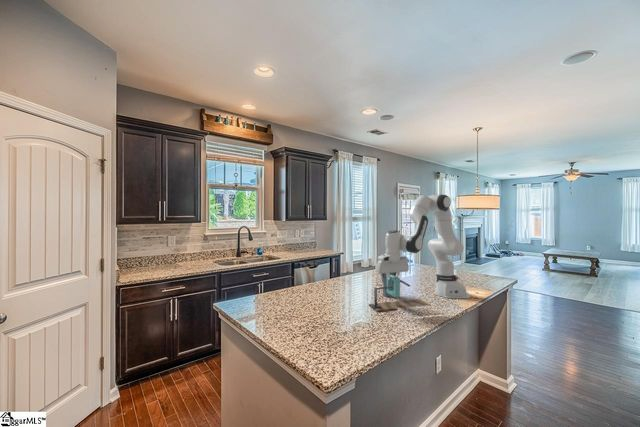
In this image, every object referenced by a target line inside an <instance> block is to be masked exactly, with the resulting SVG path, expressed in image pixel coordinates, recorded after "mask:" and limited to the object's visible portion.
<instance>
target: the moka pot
mask: <svg viewBox="0 0 640 427" xmlns="http://www.w3.org/2000/svg"><path fill="white" fill-rule="evenodd" d="M396 274H397V273H396V272H392V273H390V274H389V275H393V276H396ZM380 277H381V282H382V285H383V286H382V287H387V274H386V273H380ZM393 285H394V281H393V280H392V286H393ZM392 290H394V287H393V288H392ZM382 296H383V297H385V298H395V297H394V296H392V295H391V294H389V293H387V289H382Z"/></svg>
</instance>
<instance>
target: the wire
mask: <svg viewBox="0 0 640 427" xmlns="http://www.w3.org/2000/svg"><path fill="white" fill-rule="evenodd" d="M400 283H401V284H404V285H406V286H407V287H411V284H409V283H407V282H405V281H403V280H402V279H400ZM393 287H394V285H393V286H389V287H383V286H379V287H378V286H375V287H374V288H373V293H374V294H373V296H374V297H373V298H374V299H373V300H374V302H373V303H374V304H373V303H369V304H370V306H371V307H372V308H381V306H380V305H379V304H377V303H378V290H383V289H389V288H393ZM370 306H369V307H370ZM371 307H370V308H371ZM372 308H371V309H372Z"/></svg>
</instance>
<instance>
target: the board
mask: <svg viewBox="0 0 640 427" xmlns="http://www.w3.org/2000/svg"><path fill="white" fill-rule="evenodd" d="M370 304H371V303H368V306H369V307H370V308H371V309H372V310H374V311H375V312H376V313H379V312H390V311H391V312H392V311H399V309H403V308H417V307H425V306H426V307H427V306H431V304H430V303H428V302H426V301H424V300H422V299H420V298H419V299H418V298H417V299H407V300H397V301H395V300H394V301H386V302H377V304H379V305H380V306H381V308H372V307H371V306H370ZM372 304H374V302H373V303H372Z"/></svg>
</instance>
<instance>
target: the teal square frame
mask: <svg viewBox="0 0 640 427" xmlns="http://www.w3.org/2000/svg"><path fill="white" fill-rule="evenodd" d="M389 276H390V277H391V280H388V276H387V287H389V286H392V280H393V281H394V290H392V288H389V289H387V293H389V294H391V295H392V296H394V297H393V298H400V297H401V282H400V280H401V278H400V277H399V276H398V277H395V276H393V275H389Z"/></svg>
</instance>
